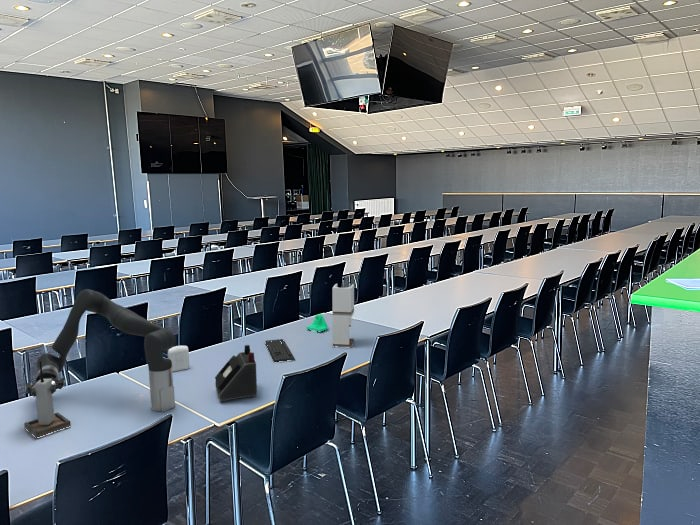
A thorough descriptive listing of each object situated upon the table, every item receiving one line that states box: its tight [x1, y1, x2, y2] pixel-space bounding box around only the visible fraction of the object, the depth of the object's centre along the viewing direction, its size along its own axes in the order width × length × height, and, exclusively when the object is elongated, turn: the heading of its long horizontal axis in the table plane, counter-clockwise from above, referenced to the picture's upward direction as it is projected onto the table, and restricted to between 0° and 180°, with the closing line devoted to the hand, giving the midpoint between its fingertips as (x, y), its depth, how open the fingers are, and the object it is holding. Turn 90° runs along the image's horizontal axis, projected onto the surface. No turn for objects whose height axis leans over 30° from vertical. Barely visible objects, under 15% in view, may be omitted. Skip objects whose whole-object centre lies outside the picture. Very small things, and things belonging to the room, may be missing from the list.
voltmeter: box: [214, 344, 258, 403], centre depth 225 cm, size 16×16×20 cm
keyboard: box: [264, 338, 296, 363], centre depth 282 cm, size 35×11×2 cm, turn 17°
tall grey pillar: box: [331, 283, 355, 348], centre depth 291 cm, size 11×11×35 cm
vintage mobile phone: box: [35, 361, 56, 425], centre depth 192 cm, size 4×5×25 cm
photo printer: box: [167, 345, 190, 373], centre depth 254 cm, size 10×4×12 cm, turn 124°
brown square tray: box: [24, 412, 72, 439], centre depth 194 cm, size 12×12×2 cm
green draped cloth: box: [306, 313, 329, 333], centre depth 320 cm, size 12×8×10 cm, turn 55°
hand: (43, 392), depth 190 cm, fingers closed on vintage mobile phone, 5 cm apart
